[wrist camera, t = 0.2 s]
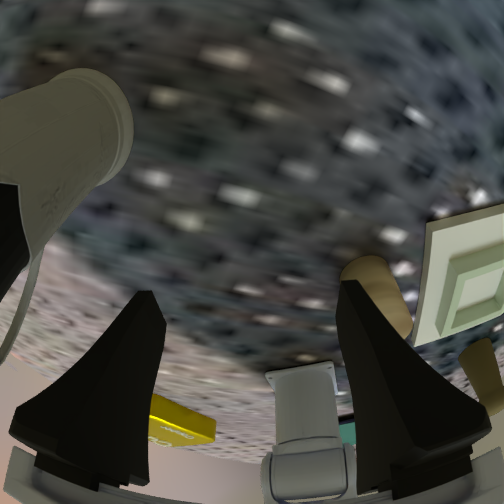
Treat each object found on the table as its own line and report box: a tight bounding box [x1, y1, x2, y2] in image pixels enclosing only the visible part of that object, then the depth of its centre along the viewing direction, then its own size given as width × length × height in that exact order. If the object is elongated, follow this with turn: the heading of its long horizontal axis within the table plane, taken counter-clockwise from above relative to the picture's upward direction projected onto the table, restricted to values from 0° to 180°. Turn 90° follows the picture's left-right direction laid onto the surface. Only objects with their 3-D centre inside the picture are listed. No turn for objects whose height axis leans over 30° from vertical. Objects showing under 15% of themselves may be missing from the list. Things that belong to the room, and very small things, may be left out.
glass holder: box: [0, 68, 134, 366], centre depth 12 cm, size 9×14×15 cm, turn 159°
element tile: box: [148, 394, 216, 447], centre depth 43 cm, size 15×15×5 cm
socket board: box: [411, 204, 504, 347], centre depth 22 cm, size 16×13×3 cm
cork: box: [458, 338, 504, 417], centre depth 28 cm, size 6×6×11 cm
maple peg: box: [339, 255, 413, 339], centre depth 21 cm, size 4×4×6 cm
